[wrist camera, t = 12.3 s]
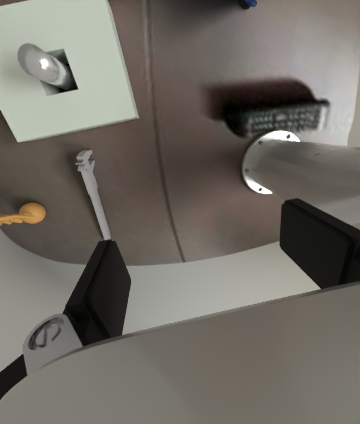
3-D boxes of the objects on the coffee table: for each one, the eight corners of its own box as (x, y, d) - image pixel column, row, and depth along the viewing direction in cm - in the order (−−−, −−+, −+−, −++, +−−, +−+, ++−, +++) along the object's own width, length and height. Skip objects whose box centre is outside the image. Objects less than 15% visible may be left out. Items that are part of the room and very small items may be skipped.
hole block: (111, 9, 26) (101, -15, 22) (139, 118, 32) (136, 117, 28) (-15, 35, 26) (-51, 16, 21) (37, 139, 32) (17, 142, 28)
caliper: (86, 149, 34) (72, 154, 28) (92, 149, 34) (79, 153, 28) (107, 242, 42) (99, 260, 37) (112, 242, 42) (105, 260, 37)
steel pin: (77, 67, 29) (39, 40, 20) (85, 90, 30) (53, 74, 21) (58, 71, 28) (11, 46, 19) (66, 94, 30) (27, 80, 21)
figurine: (21, 220, 38) (-33, 257, 27) (7, 192, 35) (-60, 221, 24) (63, 215, 38) (26, 250, 27) (52, 187, 36) (6, 213, 25)
